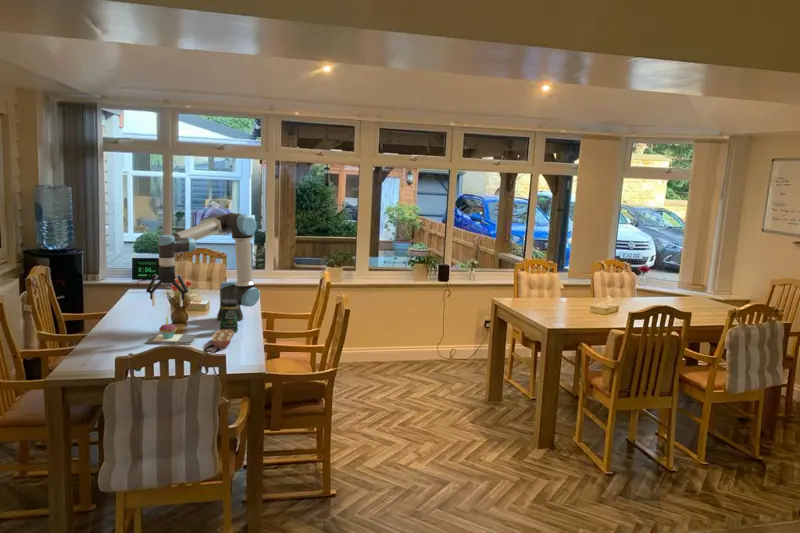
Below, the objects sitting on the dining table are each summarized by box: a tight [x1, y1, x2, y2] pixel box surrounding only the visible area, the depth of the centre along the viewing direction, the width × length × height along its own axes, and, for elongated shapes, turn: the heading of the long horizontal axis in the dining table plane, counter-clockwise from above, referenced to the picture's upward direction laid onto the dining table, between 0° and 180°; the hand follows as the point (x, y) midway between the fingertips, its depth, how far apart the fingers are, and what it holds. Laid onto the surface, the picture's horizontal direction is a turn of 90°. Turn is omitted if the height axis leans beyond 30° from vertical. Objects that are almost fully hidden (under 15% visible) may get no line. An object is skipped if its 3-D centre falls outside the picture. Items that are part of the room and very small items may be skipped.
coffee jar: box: [219, 299, 239, 334], centre depth 325 cm, size 10×8×19 cm
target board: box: [145, 333, 198, 345], centre depth 306 cm, size 22×14×2 cm, turn 97°
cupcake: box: [158, 316, 178, 339], centre depth 305 cm, size 9×8×12 cm
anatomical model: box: [211, 329, 235, 349], centre depth 303 cm, size 23×10×5 cm, turn 9°
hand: (167, 306), depth 303 cm, fingers open, 13 cm apart
